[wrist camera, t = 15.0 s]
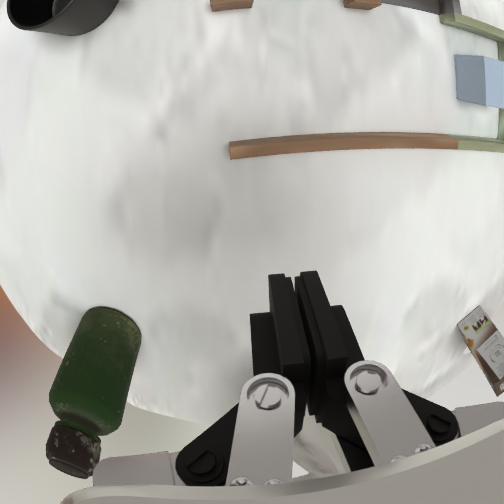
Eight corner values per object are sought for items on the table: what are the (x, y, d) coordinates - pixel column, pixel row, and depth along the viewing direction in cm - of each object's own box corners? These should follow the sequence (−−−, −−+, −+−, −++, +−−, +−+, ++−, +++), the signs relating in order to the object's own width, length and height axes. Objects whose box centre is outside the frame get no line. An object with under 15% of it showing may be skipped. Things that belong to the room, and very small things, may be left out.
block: (486, 102, 29) (515, 110, 24) (456, 98, 30) (485, 105, 24) (484, 61, 26) (514, 65, 21) (453, 54, 27) (483, 56, 21)
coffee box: (455, 324, 50) (493, 385, 37) (479, 304, 48) (521, 361, 35) (464, 342, 54) (496, 397, 40) (486, 324, 52) (521, 377, 38)
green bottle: (113, 357, 49) (80, 485, 28) (71, 319, 45) (17, 450, 23) (154, 339, 47) (127, 487, 26) (110, 295, 42) (52, 449, 21)
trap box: (501, 147, 33) (515, 153, 30) (231, 152, 33) (230, 159, 30) (495, -4, 20) (509, -5, 17) (206, -46, 21) (203, -57, 18)
